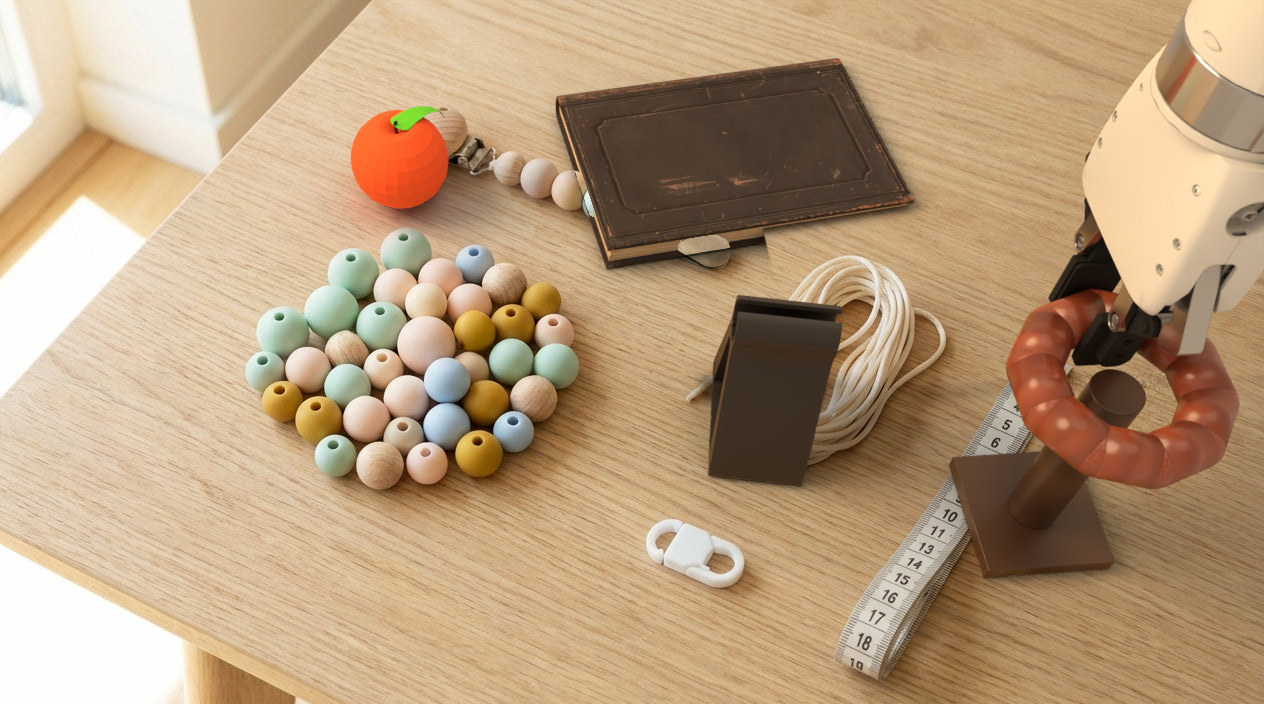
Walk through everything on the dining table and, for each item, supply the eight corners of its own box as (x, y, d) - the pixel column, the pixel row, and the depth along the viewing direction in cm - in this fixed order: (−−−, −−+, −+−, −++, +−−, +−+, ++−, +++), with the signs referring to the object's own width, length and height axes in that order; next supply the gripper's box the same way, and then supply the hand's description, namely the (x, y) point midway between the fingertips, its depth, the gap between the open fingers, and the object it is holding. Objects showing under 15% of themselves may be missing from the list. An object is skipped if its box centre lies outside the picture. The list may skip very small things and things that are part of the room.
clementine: (414, 138, 93) (407, 65, 87) (480, 184, 90) (478, 112, 85) (336, 194, 89) (323, 122, 83) (402, 243, 87) (394, 173, 81)
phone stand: (713, 362, 82) (740, 245, 72) (802, 372, 82) (841, 256, 72) (706, 477, 77) (735, 368, 67) (801, 488, 77) (843, 381, 67)
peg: (1067, 456, 79) (1162, 327, 68) (1109, 568, 75) (1218, 451, 63) (948, 464, 78) (1023, 335, 67) (983, 578, 74) (1070, 460, 62)
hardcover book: (906, 221, 90) (914, 199, 88) (606, 269, 86) (608, 248, 84) (831, 75, 99) (837, 53, 97) (554, 113, 95) (555, 91, 93)
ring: (1170, 303, 69) (1194, 273, 67) (1255, 491, 63) (1284, 465, 61) (975, 314, 68) (992, 284, 66) (1041, 506, 62) (1063, 480, 60)
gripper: (1425, 216, 48) (1207, 454, 64) (1256, -45, 58) (1101, 217, 73) (1246, 224, 48) (1069, 462, 63) (1104, -41, 57) (979, 223, 72)
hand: (1087, 329), depth 68 cm, fingers closed on ring, 3 cm apart
